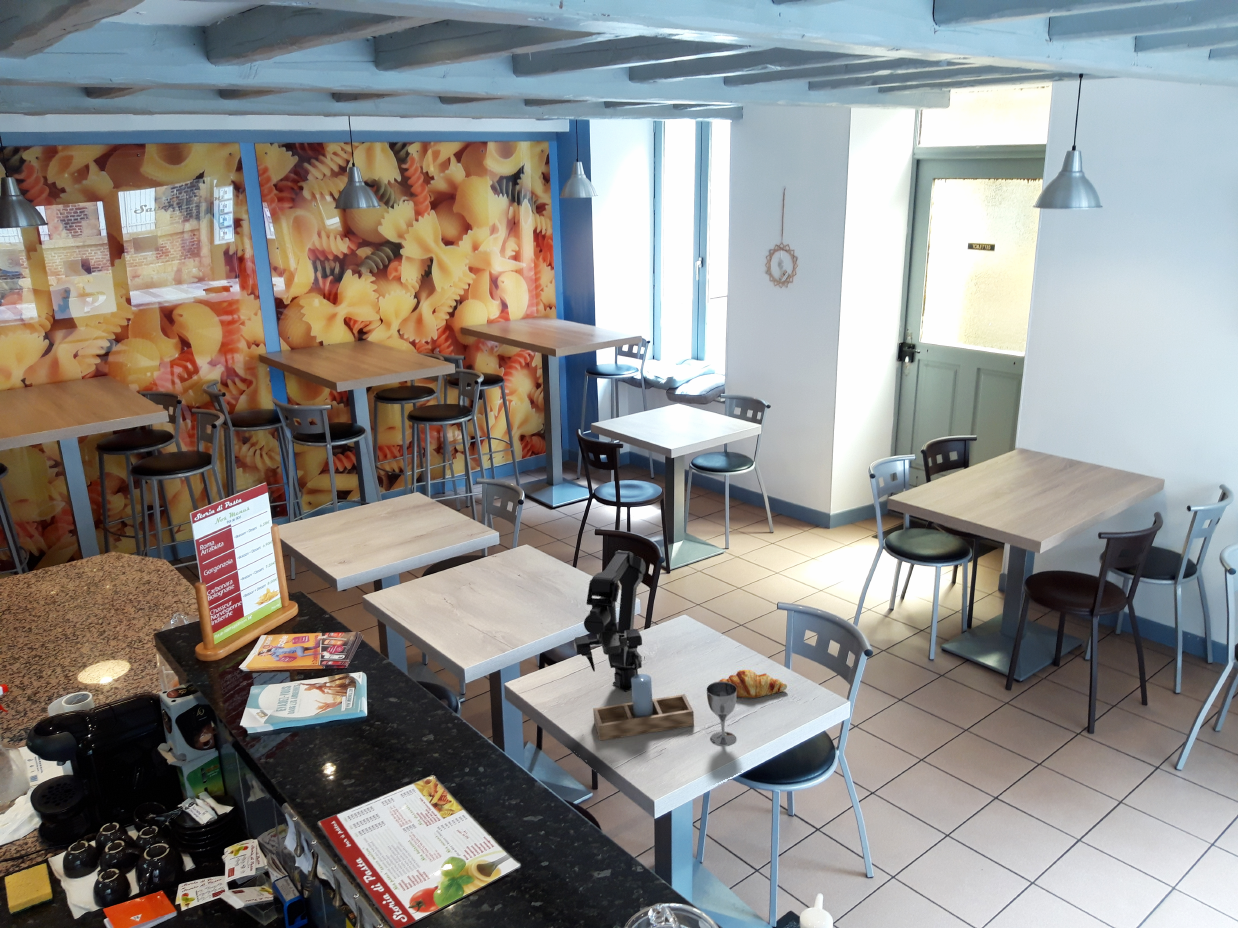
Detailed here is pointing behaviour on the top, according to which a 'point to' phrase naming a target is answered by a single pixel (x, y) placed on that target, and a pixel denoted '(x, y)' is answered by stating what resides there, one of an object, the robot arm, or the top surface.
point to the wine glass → (722, 709)
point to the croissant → (754, 684)
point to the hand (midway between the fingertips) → (609, 668)
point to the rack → (643, 718)
